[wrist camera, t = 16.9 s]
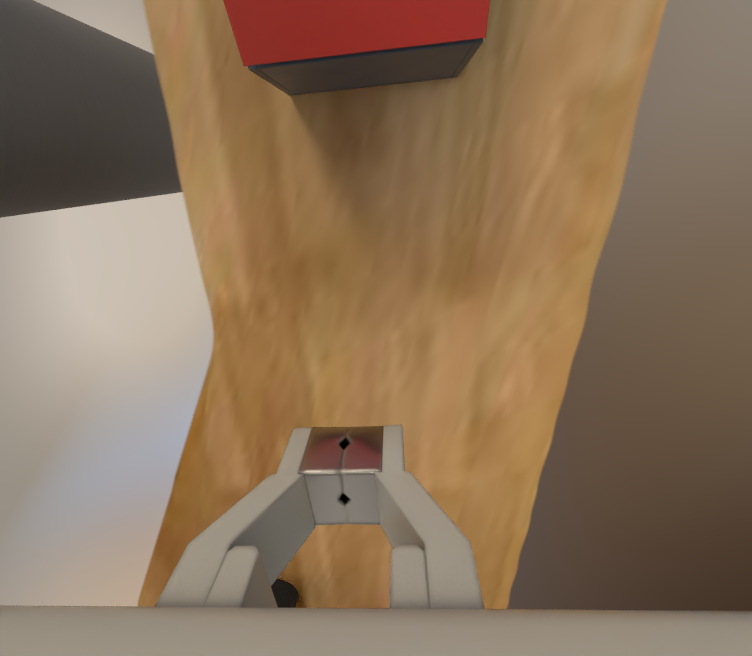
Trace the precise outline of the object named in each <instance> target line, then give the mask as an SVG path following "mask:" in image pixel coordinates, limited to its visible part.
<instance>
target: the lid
mask: <svg viewBox="0 0 752 656" xmlns="http://www.w3.org/2000/svg"><path fill="white" fill-rule="evenodd" d="M223 1H224V4H225V7H226V10H227V14H228V17H229V20H230V23H231V26H232V30H233V33H234V36H235V39H236V42H237V46H238V49H239V52H240V55H241V58H242V62H243V65H244V66H251V65H260V64H268V63H277V62H285V61H294V60H302V59H310V58H319V57H327V56H336V55H344V54H353V53H361V52H369V51H378V50H386V49H395V48H403V47H412V46H420V45H428V44H437V43H445V42H454V41H462V40H471V39H479V38H485V37H486V30H487V21H488V12H489V3H490V0H223Z"/></svg>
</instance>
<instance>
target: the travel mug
mask: <svg viewBox="0 0 752 656" xmlns="http://www.w3.org/2000/svg"><path fill="white" fill-rule="evenodd" d="M271 589H272V592H273V595H274V598H275V601H276V603H277V606H278V608H295V607H296V601H297V591H296V589H295V588H294V587H293V586H292V585H291V584H289V583H287V582H285V581H282V580H277V579H276V580H275V582H274V583H273V584H272V586H271Z"/></svg>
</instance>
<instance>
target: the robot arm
mask: <svg viewBox="0 0 752 656" xmlns="http://www.w3.org/2000/svg"><path fill="white" fill-rule="evenodd" d="M335 524H372V525H381V527H382V529H383V531H384V533H385V535H386V536H387V538H388V540H389V542H390V544H391V546H392V547H393V550H392V551H391V586H390V608H278V606H277V603H276V601H275V598H274V595H273V592H272V589H271V586H272V584H273V583H274V582H275V580H276V579H277V578H278V576H279V575H280V574H281V572H282V571H283V570H284V568H285V567H286V566H287V564H288V563H289V562H290V561H291V559H292V558H293V557H294V555H295V554H296V553H297V551H298V550H299V549H300V547H301V546H302V545H303V543H304V542H305V541H306V539H307V538H308V537H309V535H310V534H311V533H312V531H313V530H314V529H315V525H335ZM0 656H752V611H669V610H666V611H665V610H663V611H662V610H533V609H526V610H525V609H484V604H483V599H482V595H481V590H480V585H479V580H478V575H477V570H476V566H475V561H474V556H473V551H472V546H471V543H470V542H469V540H468V539H467V538H466V537H465V536H464V534H463V533H462V532H461V531H460V530H459V529H458V527H457V526H456V525H455V524H454V523H453V521H452V520H451V519H450V518H449V517H448V516H447V514H446V513H445V512H444V511H443V510H442V509H441V507H440V506H439V505H438V504H437V503H436V501H435V500H434V499H433V498H432V497H431V496H430V494H429V493H428V492H427V491H426V490H425V488H424V487H423V486H422V485H421V484H420V483H419V481H418V480H417V479H416V478H415V477H414V476H413V474H412V473H411V472H405V461H404V441H403V426H402V424H401V425H384V426H362V427H313V428H295V429H294V430H293V431H292V433H291V436H290V438H289V441H288V444H287V446H286V449H285V452H284V454H283V457H282V460H281V462H280V465H279V468H278V470H277V473H276V474H270V475H269V476H268V477H267V478H266V479H265V480H263V481H262V482H261V483H260V484H259V485H257V486H256V487H255V488H254V489H253V490H252V491H250V492H249V493H248V494H247V495H246V496H244V497H243V498H242V499H241V500H240V501H238V502H237V503H236V504H235V505H234V506H233V507H231V508H230V509H229V510H228V511H227V512H225V513H224V514H223V515H222V516H221V517H220V518H218V519H217V520H216V521H215V522H214V523H212V524H211V525H210V526H209V527H208V528H206V529H205V530H204V531H203V532H202V533H201V534H199V535H198V536H197V537H196V538H195V539H193V540H192V541H191V542H190V543H189V544H188V545H187V547H186V549H185V551H184V553H183V555H182V556H181V558H180V560H179V562H178V564H177V566H176V568H175V570H174V571H173V573H172V575H171V577H170V579H169V581H168V583H167V584H166V586H165V588H164V590H163V592H162V594H161V596H160V597H159V599H158V601H157V603H156V605H155V607H121V606H120V607H118V606H116V607H114V606H111V607H109V606H0Z"/></svg>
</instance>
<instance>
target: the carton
mask: <svg viewBox="0 0 752 656" xmlns="http://www.w3.org/2000/svg"><path fill="white" fill-rule="evenodd" d="M482 43H483V38H479V39H471V40H462V41H454V42H445V43H437V44H428V45H420V46H412V47H403V48H395V49H386V50H378V51H369V52H361V53H353V54H344V55H336V56H327V57H319V58H310V59H302V60H294V61H285V62H277V63H268V64H260V65H251V66H248V68H249V70H250V71H252V72H253V73H255V74H256V75H258V76H260V77H261V78H263V79H264V80H266V81H267V82H269V83H271V84H272V85H274V86H275V87H277V88H278V89H280V90H282V91H283V92H285V93H286V94H288V95H289V96H292V95H301V94H310V93H319V92H328V91H338V90H347V89H356V88H365V87H374V86H383V85H392V84H401V83H410V82H419V81H428V80H437V79H446V78H455V77H458V75H459V74H460V73H461V71H462V70H463V69H464V67H465V66H466V64H467V63H468V62H469V60H470V59H471V58H472V56H473V55H474V54H475V52H476V51H477V49H478V48H479V47H480V45H481V44H482Z"/></svg>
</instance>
